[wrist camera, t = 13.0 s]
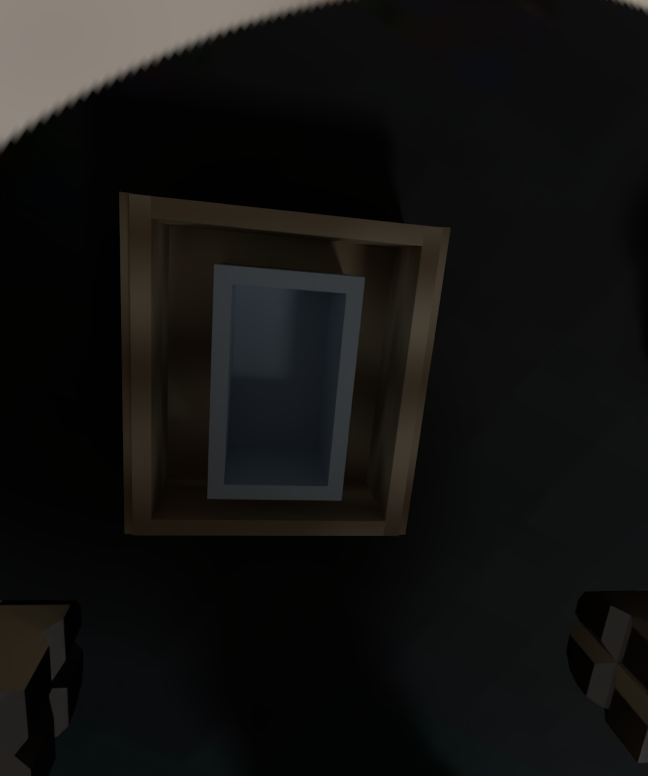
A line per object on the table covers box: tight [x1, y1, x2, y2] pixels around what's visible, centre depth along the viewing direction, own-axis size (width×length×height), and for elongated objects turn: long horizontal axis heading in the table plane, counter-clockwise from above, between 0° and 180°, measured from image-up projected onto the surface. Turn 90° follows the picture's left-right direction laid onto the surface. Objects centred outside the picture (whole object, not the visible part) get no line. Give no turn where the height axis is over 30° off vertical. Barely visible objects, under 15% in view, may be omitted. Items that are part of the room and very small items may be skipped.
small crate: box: [207, 263, 365, 501], centre depth 23 cm, size 10×6×5 cm, turn 175°
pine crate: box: [119, 192, 450, 536], centre depth 23 cm, size 15×13×5 cm
